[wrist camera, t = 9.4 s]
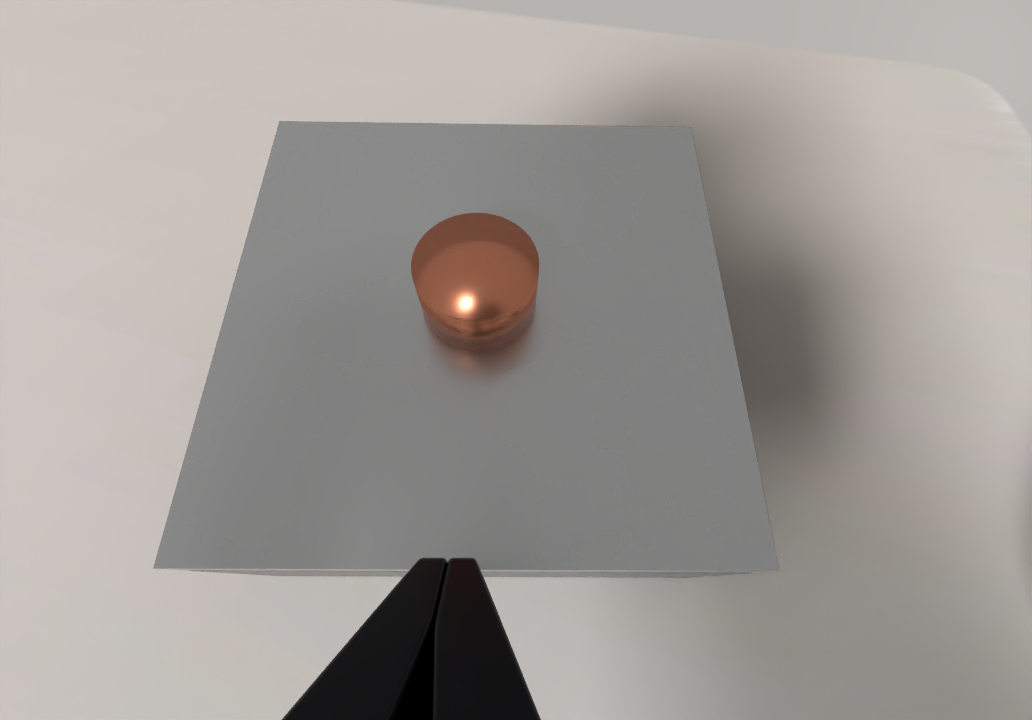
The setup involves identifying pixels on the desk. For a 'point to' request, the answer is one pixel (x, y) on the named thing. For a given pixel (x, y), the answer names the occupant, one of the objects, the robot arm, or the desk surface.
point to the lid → (474, 362)
